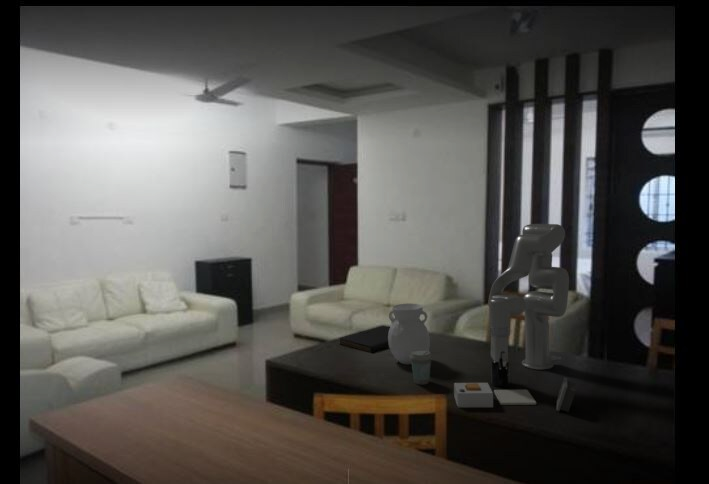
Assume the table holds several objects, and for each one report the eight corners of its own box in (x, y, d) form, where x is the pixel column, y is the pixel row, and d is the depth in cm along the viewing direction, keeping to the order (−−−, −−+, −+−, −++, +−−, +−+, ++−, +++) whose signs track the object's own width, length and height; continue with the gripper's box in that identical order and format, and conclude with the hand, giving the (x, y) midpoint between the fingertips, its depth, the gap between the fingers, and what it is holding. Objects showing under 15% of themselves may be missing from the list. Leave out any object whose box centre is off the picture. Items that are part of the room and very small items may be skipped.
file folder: (382, 324, 281) (416, 332, 264) (383, 332, 282) (416, 340, 264) (338, 337, 259) (372, 346, 241) (338, 345, 259) (372, 355, 241)
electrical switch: (556, 401, 177) (559, 375, 176) (572, 404, 175) (575, 378, 174) (556, 412, 169) (559, 385, 168) (573, 415, 167) (575, 388, 166)
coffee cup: (418, 387, 195) (418, 356, 194) (406, 380, 202) (405, 351, 202) (436, 383, 199) (436, 353, 198) (424, 376, 206) (423, 348, 205)
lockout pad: (527, 391, 187) (527, 389, 187) (536, 404, 175) (536, 402, 175) (494, 391, 188) (493, 389, 188) (500, 404, 176) (500, 402, 176)
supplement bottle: (510, 387, 191) (510, 356, 190) (491, 387, 193) (491, 356, 192) (508, 381, 198) (508, 351, 197) (490, 380, 199) (490, 350, 198)
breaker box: (487, 396, 184) (487, 381, 184) (493, 407, 174) (492, 391, 174) (454, 396, 185) (454, 381, 184) (457, 407, 175) (457, 392, 175)
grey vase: (382, 366, 222) (381, 309, 220) (395, 353, 239) (394, 301, 237) (424, 369, 215) (423, 311, 213) (434, 357, 232) (433, 303, 230)
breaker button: (477, 395, 181) (477, 383, 181) (479, 399, 177) (479, 387, 177) (466, 395, 181) (466, 383, 181) (468, 399, 178) (467, 387, 177)
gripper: (485, 325, 203) (486, 367, 204) (494, 336, 185) (494, 383, 187) (504, 325, 202) (505, 367, 203) (515, 336, 185) (515, 383, 186)
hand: (500, 374), depth 195 cm, fingers open, 8 cm apart
